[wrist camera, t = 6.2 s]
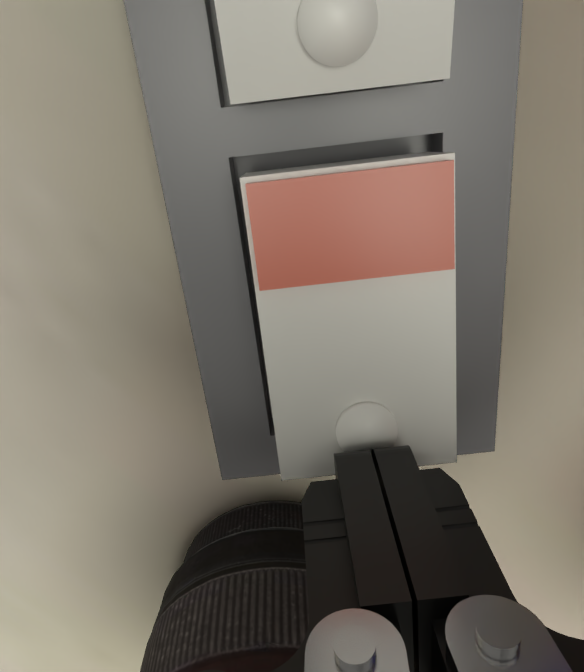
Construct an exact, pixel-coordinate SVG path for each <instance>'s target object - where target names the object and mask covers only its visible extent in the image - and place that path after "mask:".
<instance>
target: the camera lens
mask: <svg viewBox="0 0 584 672" xmlns="http://www.w3.org/2000/svg"><path fill="white" fill-rule="evenodd" d="M308 625H309V605H308V590H307V575H306V560H305V543H304V530H303V515H302V503H298V502H288V501H267V502H259V503H254V504H250V505H245V506H242V507H238V508H235V509H233V510H231V511H229V512H227V513H225V514H223V515H221V516H219V517H218V518H216V519H215V520H213V521H212V522H211V523H209V524H208V525H207V526H206V527H205V528H204V529H203V530H202V531H201V532H200V533H199V534H198V535H197V536H196V538H195V539H194V541H193V542H192V544H191V546H190V547H189V549H188V551H187V554H186V557H185V560H184V563H183V564H182V566H181V567H180V568H179V569H178V570H177V572H176V573H175V574H174V575H173V577H172V579H171V581H170V583H169V585H168V587H167V589H166V591H165V593H164V597H163V600H162V604H161V607H160V611H159V613H158V616H157V619H156V621H155V624H154V627H153V630H152V633H151V636H150V638H149V640H148V643H147V646H146V650H145V654H144V658H143V662H142V666H141V670H140V672H199V671H203V670H221V671H225V672H271V671H273V670H274V669H276V668H278V667H280V666H281V665H283V664H284V663H285V662H287V661H288V660H289V659H290V658H291V657H292V656H293V655H294V654H295V653H296V651H297V650H298V649H299V647H300V646H301V644H302V642H303V641H304V639H305V636H306V633H307V630H308Z"/></svg>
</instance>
